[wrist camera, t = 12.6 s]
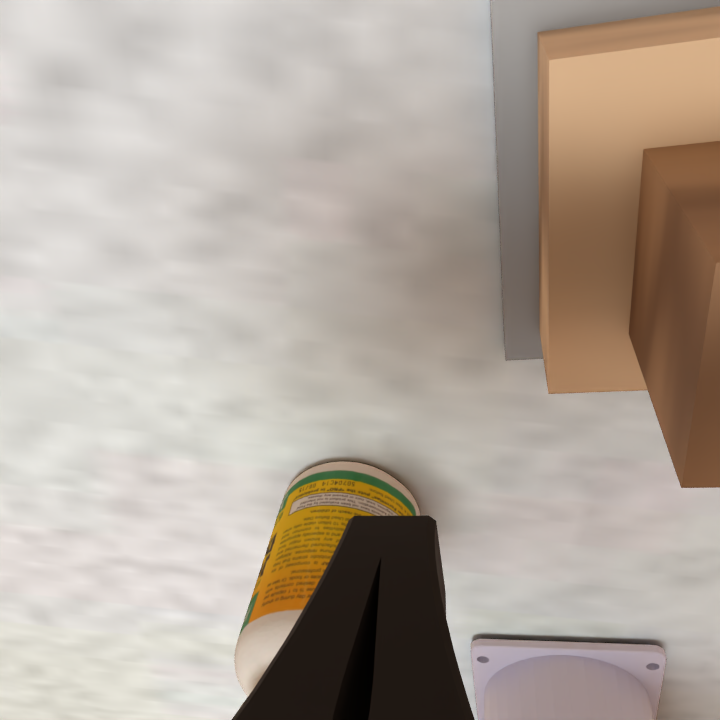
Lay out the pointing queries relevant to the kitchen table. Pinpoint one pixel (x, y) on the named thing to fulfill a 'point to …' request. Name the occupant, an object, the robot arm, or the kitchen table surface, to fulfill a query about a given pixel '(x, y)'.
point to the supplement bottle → (308, 551)
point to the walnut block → (681, 303)
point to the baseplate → (535, 140)
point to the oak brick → (609, 175)
